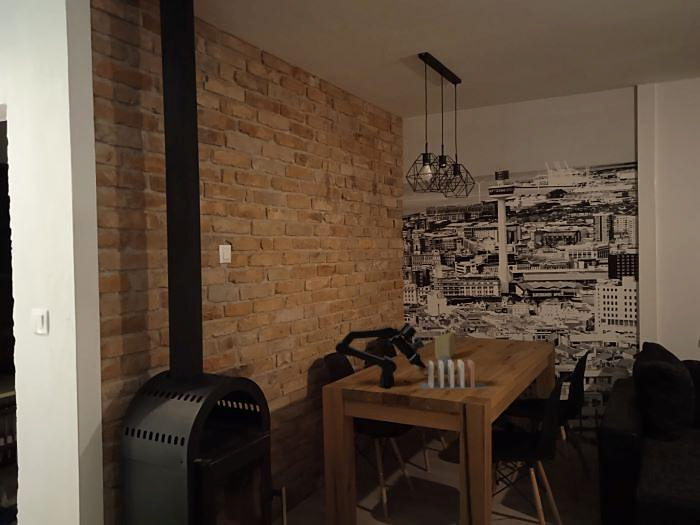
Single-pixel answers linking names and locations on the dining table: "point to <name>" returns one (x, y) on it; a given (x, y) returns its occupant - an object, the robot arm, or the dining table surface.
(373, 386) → the dining table surface
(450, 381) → the tile
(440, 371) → the tile
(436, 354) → the cheese
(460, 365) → the tile
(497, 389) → the dining table surface
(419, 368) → the lion figurine
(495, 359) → the dining table surface
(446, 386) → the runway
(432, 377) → the tile
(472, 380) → the tile
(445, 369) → the decorative ball
